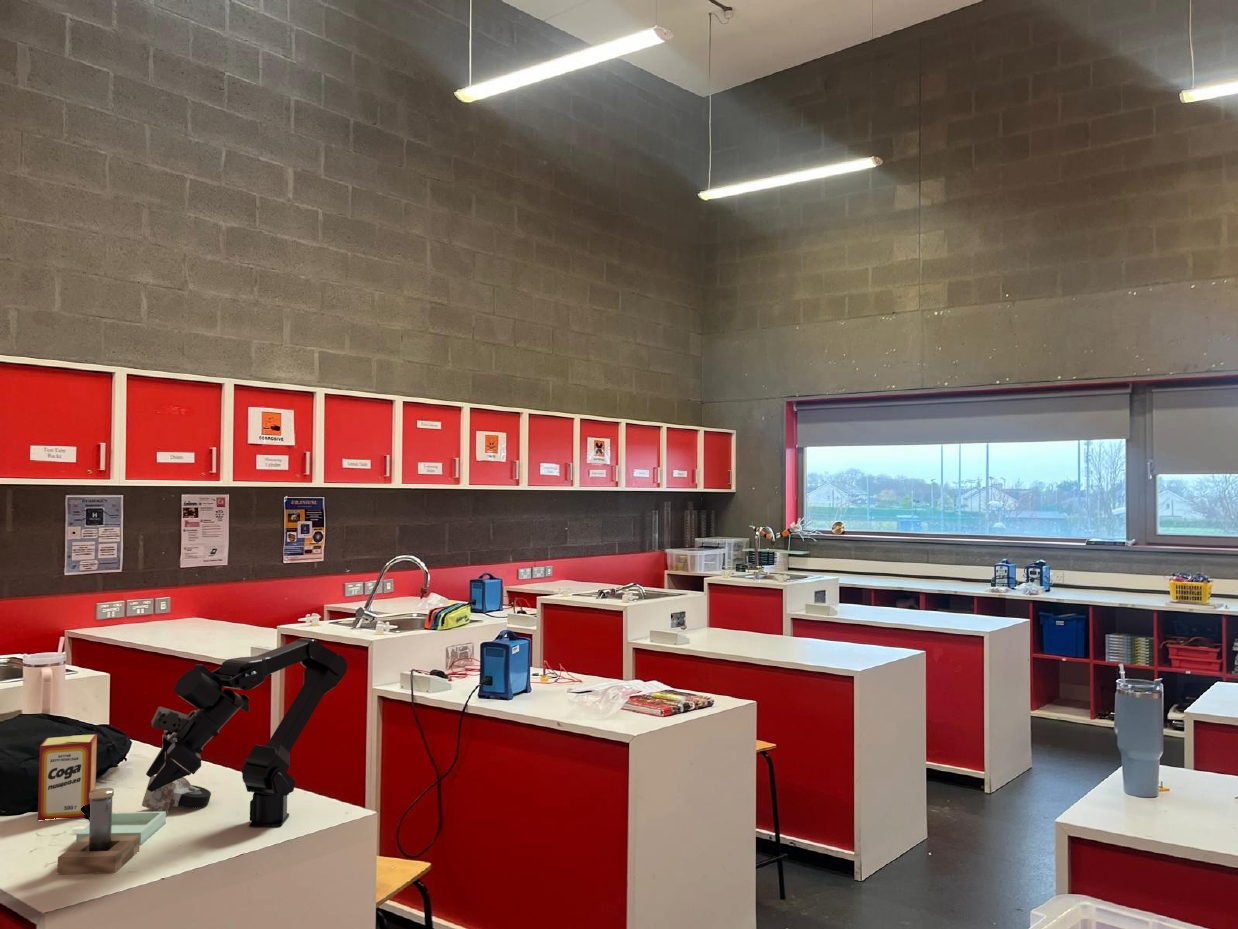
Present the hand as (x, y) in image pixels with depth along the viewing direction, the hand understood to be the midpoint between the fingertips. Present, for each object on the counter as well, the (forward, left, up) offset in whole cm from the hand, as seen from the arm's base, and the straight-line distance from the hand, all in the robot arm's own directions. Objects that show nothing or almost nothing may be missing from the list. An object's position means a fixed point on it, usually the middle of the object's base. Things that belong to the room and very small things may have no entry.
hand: (148, 783), depth 176 cm
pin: (+7, +4, -13) cm, 15 cm away
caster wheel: (+4, -27, -14) cm, 30 cm away
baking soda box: (+26, -23, -14) cm, 37 cm away
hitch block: (+7, +4, -13) cm, 15 cm away
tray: (+9, -10, -13) cm, 19 cm away
